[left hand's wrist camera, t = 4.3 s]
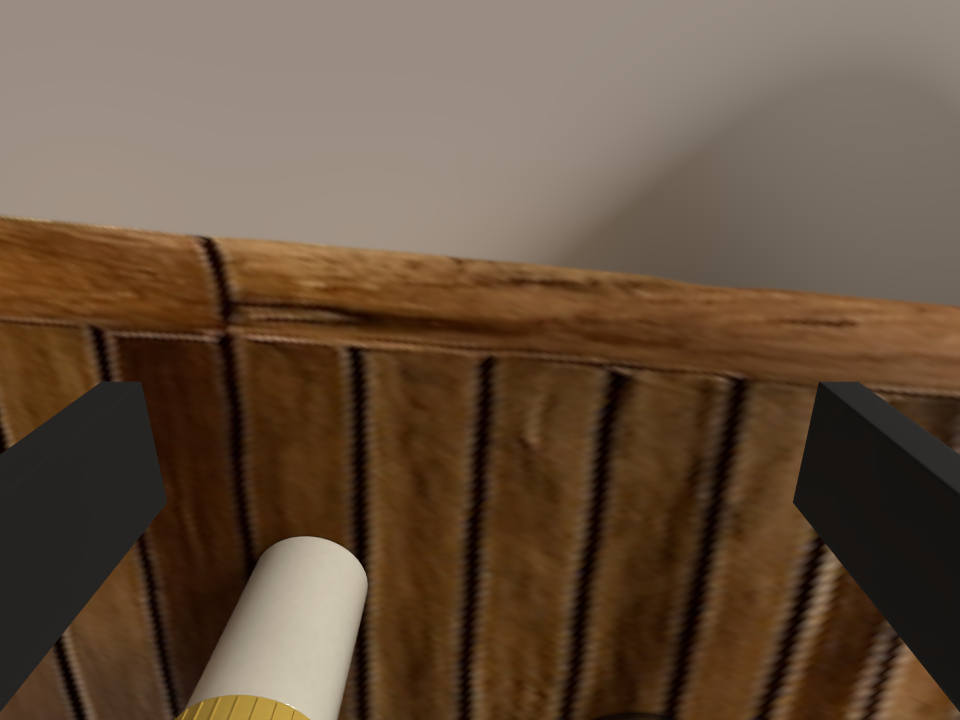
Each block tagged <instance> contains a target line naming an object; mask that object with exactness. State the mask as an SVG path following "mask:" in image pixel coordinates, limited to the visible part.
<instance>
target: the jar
mask: <svg viewBox="0 0 960 720" xmlns="http://www.w3.org/2000/svg"><path fill="white" fill-rule="evenodd" d="M367 590H368V583H367V577H366V574H365V571H364V569H363V567H362V565H361V564H360V562H359V561H358V560H357V558H356V557H355V556H354V555H353V554H352V553H350V552H349V551H348V550H347V549H345V548H344V547H342V546H340V545H338V544H337V543H334V542H332V541H329V540H326V539H323V538H318V537H309V536H302V537H293V538H289V539H285V540H282V541H280V542H278V543H276V544H274V545H272V546H271V547H270V548H268V549H267V550H266V551H265V552H264V553H263V554H262V555H261V557H260V558H259V560H258V561H257V563H256V565H255V567H254V570H253V572H252V574H251V576H250V578H249V580H248V582H247V584H246V586H245V588H244V590H243V592H242V594H241V596H240V598H239V600H238V602H237V604H236V606H235V608H234V610H233V612H232V614H231V616H230V618H229V620H228V622H227V624H226V626H225V628H224V630H223V632H222V635H221V637H220V639H219V641H218V643H217V645H216V647H215V649H214V651H213V653H212V655H211V657H210V659H209V661H208V663H207V665H206V667H205V669H204V671H203V673H202V675H201V677H200V679H199V681H198V683H197V685H196V687H195V689H194V691H193V693H192V695H191V697H190V700H189V702H188V704H187V706H186V708H185V710H186V709H187V708H189V707H191V706H193V705H194V704H196V703H198V702H201V701H204V700H206V699H210V698H214V697H218V696H225V695H252V696H258V697H264V698H268V699H272V700H275V701H278V702H281V703H283V704H286V705H288V706H290V707H292V708H294V709H296V710H298V711H299V712H301V713H302V714H304V715H305V716H307V717H308V718H309V719H310V720H338V716H339V712H340V707H341V703H342V699H343V695H344V690H345V686H346V682H347V677H348V673H349V669H350V665H351V660H352V656H353V652H354V647H355V643H356V639H357V635H358V630H359V626H360V622H361V617H362V613H363V609H364V605H365V600H366V596H367ZM185 710H184V711H185Z"/></svg>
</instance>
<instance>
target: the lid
mask: <svg viewBox="0 0 960 720" xmlns="http://www.w3.org/2000/svg"><path fill="white" fill-rule="evenodd" d="M174 720H310V719H309V718H308V717H307V716H305V715H304V714H302V713H301V712H299V711H298V710H296V709H294V708H292V707H290V706H288V705H286V704H283V703H281V702H278V701H275V700H272V699H268V698H264V697H258V696H252V695H225V696H218V697H214V698H210V699H206V700H204V701H201V702H198V703H196V704H194V705H193V706H191V707H189V708H187V709H186V710H185V711H184V712H182V713H181V714H180V715H179V716H178V717H177V718H175V719H174Z"/></svg>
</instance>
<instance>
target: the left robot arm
mask: <svg viewBox="0 0 960 720" xmlns="http://www.w3.org/2000/svg"><path fill="white" fill-rule="evenodd" d="M166 503H167V500H166V495H165V490H164V486H163V481H162V477H161V472H160V467H159V463H158V458H157V453H156V449H155V444H154V440H153V435H152V430H151V426H150V421H149V416H148V412H147V407H146V403H145V398H144V393H143V389H142V384H141V382H101V383H99V384H98V385H96V386H95V387H94V388H92V389H91V390H90V391H88V392H87V393H85V394H84V395H83V396H81V397H80V398H78V399H77V400H76V401H74V402H73V403H71V404H70V405H69V406H67V407H66V408H65V409H63V410H62V411H60V412H59V413H58V414H56V415H55V416H53V417H52V418H51V419H49V420H48V421H46V422H45V423H44V424H42V425H41V426H40V427H38V428H37V429H35V430H34V431H33V432H31V433H30V434H28V435H27V436H26V437H24V438H23V439H21V440H20V441H19V442H17V443H16V444H15V445H13V446H12V447H10V448H9V449H8V450H6V451H5V452H3V453H2V454H1V455H0V712H1V710H2V709H3V708H4V707H5V705H6V704H7V703H8V702H9V700H10V699H11V698H12V697H13V695H14V694H15V693H16V692H17V690H18V689H19V688H20V686H21V685H22V684H23V683H24V681H25V680H26V679H27V678H28V676H29V675H30V674H31V673H32V671H33V670H34V669H35V668H36V666H37V665H38V664H39V663H40V661H41V660H42V659H43V658H44V656H45V655H46V654H47V653H48V651H49V650H50V649H51V648H52V646H53V645H54V644H55V643H56V641H57V640H58V639H59V638H60V636H61V635H62V634H63V633H64V631H65V630H66V629H67V627H68V626H69V625H70V624H71V622H72V621H73V620H74V619H75V617H76V616H77V615H78V614H79V612H80V611H81V610H82V609H83V607H84V606H85V605H86V604H87V602H88V601H89V600H90V599H91V597H92V596H93V595H94V594H95V592H96V591H97V590H98V589H99V587H100V586H101V585H102V584H103V582H104V581H105V580H106V579H107V577H108V576H109V575H110V573H111V572H112V571H113V570H114V568H115V567H116V566H117V565H118V563H119V562H120V561H121V560H122V558H123V557H124V556H125V555H126V553H127V552H128V551H129V550H130V548H131V547H132V546H133V545H134V543H135V542H136V541H137V540H138V538H139V537H140V536H141V535H142V533H143V532H144V531H145V530H146V528H147V527H148V526H149V525H150V523H151V522H152V521H153V519H154V518H155V517H156V516H157V514H158V513H159V512H160V511H161V509H162V508H163V507H164V506H165V504H166ZM793 503H794V504H795V506H796V507H797V508H798V509H799V511H800V512H801V513H802V514H803V516H804V517H805V518H806V519H807V521H808V522H809V523H810V525H811V526H812V527H813V528H814V530H815V531H816V532H817V533H818V535H819V536H820V537H821V538H822V540H823V541H824V542H825V543H826V545H827V546H828V547H829V548H830V550H831V551H832V552H833V553H834V555H835V556H836V557H837V558H838V560H839V561H840V562H841V563H842V565H843V566H844V567H845V568H846V570H847V571H848V572H849V573H850V575H851V576H852V577H853V579H854V580H855V581H856V582H857V584H858V585H859V586H860V587H861V589H862V590H863V591H864V592H865V594H866V595H867V596H868V597H869V599H870V600H871V601H872V602H873V604H874V605H875V606H876V607H877V609H878V610H879V611H880V612H881V614H882V615H883V616H884V617H885V619H886V620H887V621H888V622H889V624H890V625H891V626H892V627H893V629H894V630H895V631H896V633H897V634H898V635H899V636H900V638H901V639H902V640H903V641H904V643H905V644H906V645H907V646H908V648H909V649H910V650H911V651H912V653H913V654H914V655H915V656H916V658H917V659H918V660H919V661H920V663H921V664H922V665H923V666H924V668H925V669H926V670H927V671H928V673H929V674H930V675H931V676H932V678H933V679H934V680H935V681H936V683H937V684H938V685H939V686H940V688H941V689H942V690H943V692H944V693H945V694H946V695H947V697H948V698H949V699H950V700H951V702H952V703H953V704H954V705H955V707H956V708H957V709H958V710H959V712H960V455H959V454H958V453H957V452H955V451H954V450H952V449H951V448H950V447H948V446H947V445H945V444H944V443H943V442H941V441H940V440H939V439H937V438H936V437H934V436H933V435H932V434H930V433H929V432H927V431H926V430H925V429H923V428H922V427H920V426H919V425H918V424H916V423H915V422H914V421H912V420H911V419H909V418H908V417H907V416H905V415H904V414H902V413H901V412H900V411H898V410H897V409H895V408H894V407H893V406H891V405H890V404H889V403H887V402H886V401H884V400H883V399H882V398H880V397H879V396H877V395H876V394H875V393H873V392H872V391H870V390H869V389H868V388H866V387H865V386H864V385H862V384H861V383H859V382H819V384H818V389H817V393H816V398H815V403H814V407H813V412H812V416H811V421H810V426H809V430H808V435H807V440H806V444H805V449H804V453H803V458H802V463H801V467H800V472H799V477H798V481H797V486H796V490H795V495H794V500H793ZM598 720H674V719H671V718H668V717H664V716H660V715H654V714H645V713H628V714H619V715H613V716H608V717H604V718H601V719H598Z"/></svg>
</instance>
